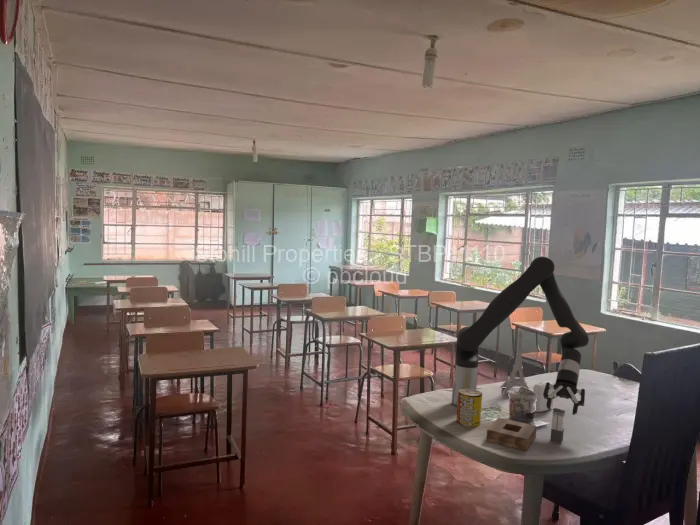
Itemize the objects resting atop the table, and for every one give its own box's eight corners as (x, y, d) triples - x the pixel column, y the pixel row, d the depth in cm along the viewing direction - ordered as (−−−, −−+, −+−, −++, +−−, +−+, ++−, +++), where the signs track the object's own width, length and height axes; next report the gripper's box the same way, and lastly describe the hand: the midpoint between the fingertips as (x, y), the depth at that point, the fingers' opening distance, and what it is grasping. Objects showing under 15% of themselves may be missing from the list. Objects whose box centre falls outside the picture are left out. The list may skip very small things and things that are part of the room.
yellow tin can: (454, 417, 209) (456, 388, 208) (477, 419, 208) (479, 389, 207) (458, 426, 200) (460, 395, 199) (482, 427, 199) (484, 396, 199)
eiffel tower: (529, 389, 252) (534, 328, 249) (532, 398, 239) (537, 333, 236) (500, 386, 254) (505, 325, 252) (502, 394, 242) (507, 330, 239)
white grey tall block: (550, 441, 190) (552, 411, 189) (552, 437, 193) (554, 408, 192) (561, 443, 188) (563, 413, 187) (562, 440, 191) (565, 410, 190)
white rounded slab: (545, 406, 228) (547, 378, 227) (553, 409, 225) (556, 381, 224) (530, 409, 222) (532, 381, 222) (538, 413, 219) (541, 384, 218)
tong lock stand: (486, 440, 187) (487, 429, 186) (497, 428, 200) (498, 417, 199) (526, 451, 180) (527, 439, 179) (535, 437, 193) (536, 426, 192)
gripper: (548, 365, 204) (540, 402, 195) (587, 372, 197) (581, 410, 187) (549, 375, 209) (541, 412, 200) (588, 382, 201) (582, 420, 192)
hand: (561, 411), depth 193 cm, fingers open, 8 cm apart
